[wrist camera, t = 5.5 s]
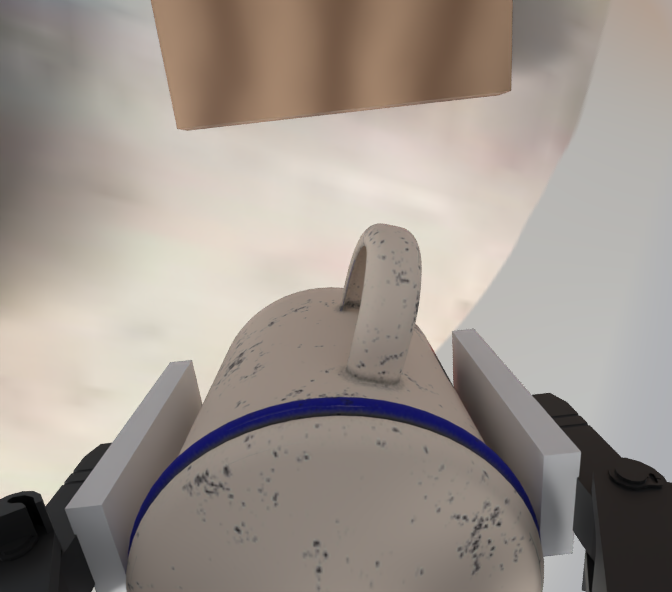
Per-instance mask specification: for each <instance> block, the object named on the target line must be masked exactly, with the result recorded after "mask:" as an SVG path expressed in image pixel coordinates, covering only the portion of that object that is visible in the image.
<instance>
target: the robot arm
mask: <svg viewBox="0 0 672 592" xmlns="http://www.w3.org/2000/svg"><path fill="white" fill-rule="evenodd" d="M452 344H453V380H454V381H453V383H454V388H455V390H456V392H457V394H458V396H459V397H460V399H461V401H462V403H463V405H464V406H465V408H466V410H467V412H468V413H469V415H470V417H471V419H472V421H473V422H474V424H475V426H476V428H477V430H478V431H479V433H480V435H481V437H482V439H483V440H484V442H485V444H486V445H487V446H488V447H489V448H490V449H492V450H493V451H494V452H495V453H496V454H497V455H498V456H499V457H500V458H501V459H502V460H503V461H504V462H505V463H506V464H507V466H508V467H509V468H510V469H511V471H512V472H513V473H514V475H515V476H516V477H517V479H518V480H519V481H520V483H521V485H522V487H523V488H524V490H525V492H526V494H527V496H528V497H529V500H530V502H531V505H532V507H533V510H534V512H535V515H536V518H537V522H538V526H539V530H540V538H541V545H542V551H543V557H545V556H553V555H563V554H572V553H573V542H574V541H573V540H574V533H575V535H576V536H577V538H578V539H579V541H580V542H581V544H582V545H583V547H584V548H585V549H586V553H585V562H584V572H583V583H582V590H583V591H586V592H672V483H670V482H667V481H666V480H665V478H664V477H663V476H662V475H661V474H660V473H659V472H657V471H656V470H655V469H653V468H652V467H650V466H648V465H646V464H644V463H642V462H639V461H636V460H632V459H628V458H621V457H620V456H619V454H617V452H615V450H613V448H612V447H610V445H609V444H608V443H607V442H606V441H605V440H604V439H603V438H602V437H601V436H600V435H599V434H598V433H597V432H596V431H595V430H594V429H593V428H592V427H591V426H588V424H587V422H586V421H585V420H584V419H583V418H582V417H581V416H578V413H577V412H576V411H575V410H574V409H573V408H572V407H571V406H570V405H569V404H568V403H567V402H566V401H564V400H562V399H560V398H558V397H556V396H554V395H553V394H551V393H544V394H535V395H531V394H530V392H529V391H528V390H527V389H526V388H525V387H524V386H523V384H521V382H520V381H519V380H518V379H517V378H516V377H515V375H514V374H513V373H512V372H511V371H510V369H508V367H507V366H506V365H505V364H504V363H503V361H502V360H501V359H500V358H499V357H498V356H497V355H496V353H495V352H494V351H493V350H492V349H491V348H490V346H489V345H488V344H487V343H486V342H485V341H484V340H483V338H482V337H481V336H480V335H479V334H478V333H477V332H476V330H475V329H466V330H457V331H452ZM201 407H202V401H201V397H200V392H199V388H198V384H197V380H196V375H195V371H194V367H193V363H192V360H188V361H179V362H170V363H169V365H168V366H167V368H166V369H165V370H164V372H163V373H162V375H161V376H160V377H159V379H158V380H157V382H156V383H155V384H154V386H153V387H152V388H151V390H150V391H149V393H148V394H147V395H146V397H145V398H144V400H143V401H142V402H141V404H140V405H139V407H138V408H137V409H136V411H135V412H134V413H133V415H132V416H131V418H130V419H129V420H128V422H127V423H126V425H125V426H124V427H123V429H122V430H121V431H120V433H119V434H118V436H117V437H116V438H115V440H114V441H113V443H106V444H100V445H99V446H98V447H96V448H95V449H94V450H93V451H91V452H90V453H89V454H87V455H86V456H85V457H84V458H83V459H82V460H81V462H80V463H79V464H78V466H77V467H76V468H75V469H74V473H72V474H71V475H70V476H69V477H68V478H67V480H66V481H65V484H64V485H62V486H61V487H60V489H59V490H58V491H57V493H56V494H55V495H54V496H53V498H52V499H51V500H50V502H49V503H48V504H47V505H46V507H45V504H44V502H43V499H42V497H41V494H39V493H37V492H34V491H22V492H19V493H15V494H11V495H8V496H6V497H4V498H2V499H0V592H91V591H92V590H93V587H95V590H96V592H127V590H126V570H127V563H128V549H129V542H130V536H131V533H132V529H133V525H134V522H135V519H136V517H137V515H138V512H139V510H140V507H141V505H142V503H143V501H144V500H145V498H146V496H147V494H148V493H149V491H150V489H151V488H152V486H153V485H154V484H155V482H156V481H157V480H158V478H159V477H160V476H161V474H162V473H163V472H164V471H165V469H166V468H167V467H168V466H169V465H170V464H171V463H172V462H173V461H174V460H175V459H176V458H177V457H178V455H179V453H180V451H181V449H182V447H183V445H184V443H185V441H186V438H187V436H188V434H189V432H190V430H191V428H192V426H193V424H194V422H195V420H196V417H197V415H198V413H199V411H200V409H201Z"/></svg>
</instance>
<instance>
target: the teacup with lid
mask: <svg viewBox="0 0 672 592" xmlns="http://www.w3.org/2000/svg"><path fill="white" fill-rule="evenodd" d="M421 272H422V267H421V254H420V250H419V246H418V243H417V241H416V239H415V237H414V236H413V235H412V233H410V232H409V231H408V230H406V229H404V228H401V227H397V226H392V225H387V224H375V225H372V226H370V227H369V228H368V229H366V231H365V232H364V233H363V234H362V236H361V237H360V239H359V241H358V243H357V245H356V247H355V250H354V253H353V256H352V259H351V262H350V265H349V269H348V273H347V277H346V281H345V285H344V288H332V287H330V288H316V289H309V290H305V291H301V292H297V293H294V294H291V295H288V296H285V297H283V298H281V299H279V300H277V301H275V302H273V303H272V304H270V305H268V306H266V307H265V308H264V309H262V310H261V311H260V312H258V313H257V314H256V315H255V316H254V317H253V318H251V319H250V320H249V321H248V322H247V324H246V325H245V326H244V327H243V328H242V329H241V331H240V332H239V333H238V335H237V336H236V337H235V339H234V341H233V343H232V344H231V346H230V348H229V350H228V352H227V354H226V357H225V359H224V361H223V363H222V365H221V367H220V369H219V371H218V373H217V375H216V378H215V380H214V382H213V384H212V386H211V388H210V390H209V392H208V394H207V396H206V399H205V401H204V403H203V405H202V407H201V409H200V411H199V413H198V415H197V417H196V420H195V422H194V424H193V426H192V428H191V430H190V432H189V434H188V436H187V438H186V441H185V443H184V445H183V447H182V449H181V451H180V453H179V455H178V457H177V458H176V459H175V460H174V461H173V462H172V463H171V464H170V465H169V466H168V467H167V468H166V469H165V471H164V472H163V473H162V474H161V476H160V477H159V478H158V480H157V481H156V482H155V484H154V485H153V486H152V488H151V489H150V491H149V493H148V494H147V496H146V498H145V500H144V501H143V503H142V505H141V507H140V510H139V512H138V515H137V517H136V519H135V522H134V525H133V529H132V533H131V536H130V542H129V549H128V563H127V570H126V590H127V592H542V590H543V583H544V582H543V581H544V580H543V579H544V559H543V551H542V545H541V538H540V530H539V526H538V522H537V518H536V515H535V512H534V510H533V507H532V505H531V502H530V500H529V497H528V496H527V494H526V492H525V490H524V488H523V487H522V485H521V483H520V481H519V480H518V479H517V477H516V476H515V475H514V473H513V472H512V471H511V469H510V468H509V467H508V466H507V464H506V463H505V462H504V461H503V460H502V459H501V458H500V457H499V456H498V455H497V454H496V453H495V452H494V451H493V450H492V449H490V448H489V447H488V446H487V445H486V444H485V442H484V440H483V439H482V437H481V435H480V433H479V431H478V430H477V428H476V426H475V424H474V422H473V421H472V419H471V417H470V415H469V413H468V412H467V410H466V408H465V406H464V405H463V403H462V401H461V399H460V397H459V396H458V394H457V392H456V390H455V388H454V387H453V385H452V383H451V382H450V380H449V378H448V376H447V374H446V372H445V370H444V369H443V367H442V365H441V363H440V361H439V360H438V358H437V356H436V354H435V352H434V351H433V349H432V347H431V345H430V344H429V342H428V340H427V338H426V337H425V335H424V334H423V332H422V331H421V330H420V328H419V327H418V326H417V325H416V324H415V322H416V317H417V312H418V306H419V299H420V290H421Z"/></svg>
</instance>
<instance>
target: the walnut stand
mask: <svg viewBox="0 0 672 592" xmlns="http://www.w3.org/2000/svg"><path fill="white" fill-rule="evenodd" d="M151 4H152V8H153V13H154V18H155V23H156V28H157V33H158V37H159V42H160V47H161V52H162V57H163V62H164V67H165V71H166V76H167V81H168V86H169V91H170V96H171V101H172V105H173V110H174V115H175V120H176V125H177V129H181V130H187V131H188V130H196V129H205V128H214V127H223V126H232V125H240V124H249V123H258V122H267V121H276V120H284V119H293V118H302V117H311V116H320V115H328V114H337V113H346V112H355V111H364V110H372V109H381V108H390V107H399V106H408V105H416V104H425V103H434V102H443V101H452V100H460V99H469V98H478V97H487V96H496V95H500V94H503V93H506V92H509V91H511V69H512V8H513V0H151Z"/></svg>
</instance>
